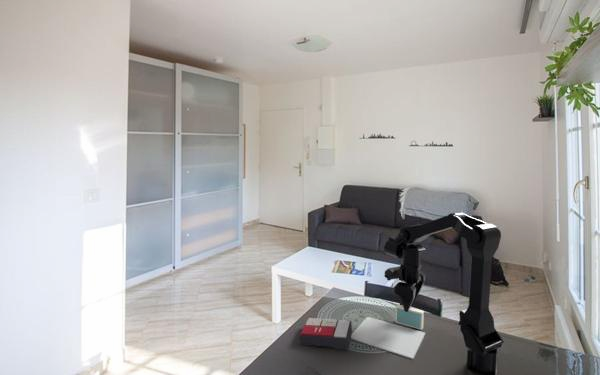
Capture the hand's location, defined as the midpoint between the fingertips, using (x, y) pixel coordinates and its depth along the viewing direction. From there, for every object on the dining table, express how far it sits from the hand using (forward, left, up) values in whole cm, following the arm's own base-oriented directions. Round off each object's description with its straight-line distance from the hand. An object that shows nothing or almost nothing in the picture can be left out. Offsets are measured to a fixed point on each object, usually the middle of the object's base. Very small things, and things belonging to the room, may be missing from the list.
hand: (409, 306), depth 110 cm
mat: (+4, +11, -7) cm, 13 cm away
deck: (0, 0, -7) cm, 7 cm away
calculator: (+20, +23, -7) cm, 31 cm away
